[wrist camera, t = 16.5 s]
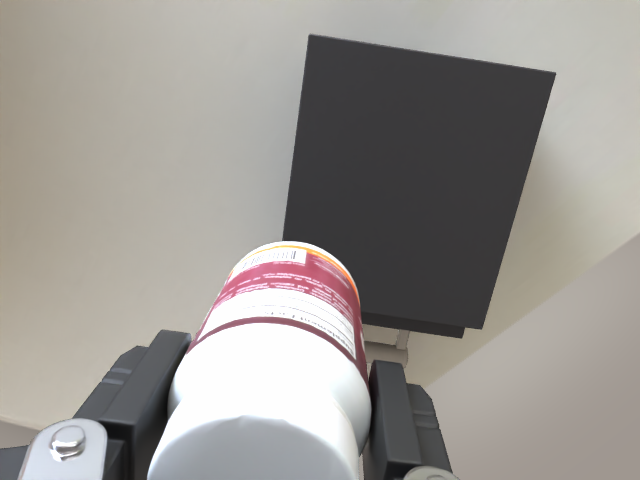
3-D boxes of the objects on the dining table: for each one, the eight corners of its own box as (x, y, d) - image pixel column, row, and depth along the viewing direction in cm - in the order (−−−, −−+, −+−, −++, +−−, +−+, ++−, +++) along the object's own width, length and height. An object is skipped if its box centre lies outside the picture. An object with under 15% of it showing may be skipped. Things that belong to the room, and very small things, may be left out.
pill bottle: (324, 380, 18) (312, 624, 10) (204, 328, 17) (91, 542, 9) (385, 273, 16) (429, 461, 8) (257, 213, 16) (175, 352, 8)
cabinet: (445, 266, 36) (482, 330, 27) (290, 242, 36) (274, 299, 26) (493, 74, 31) (557, 72, 22) (317, 46, 31) (309, 33, 22)
